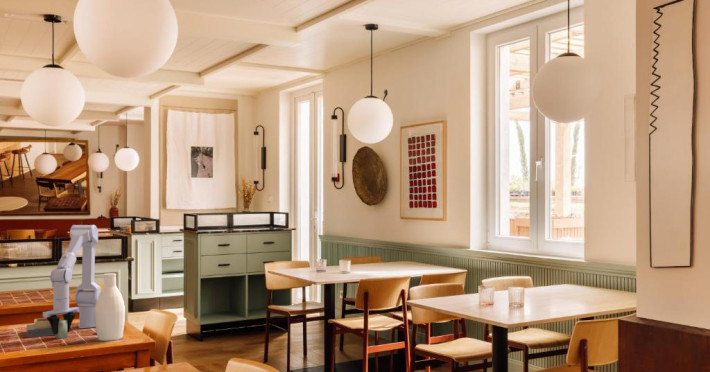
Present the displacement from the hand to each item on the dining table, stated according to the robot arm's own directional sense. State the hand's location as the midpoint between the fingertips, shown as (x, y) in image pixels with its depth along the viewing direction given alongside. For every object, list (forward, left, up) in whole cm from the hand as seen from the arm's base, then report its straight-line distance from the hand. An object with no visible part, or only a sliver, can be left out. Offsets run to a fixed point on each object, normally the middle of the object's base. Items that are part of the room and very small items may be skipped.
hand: (61, 333), depth 269 cm
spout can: (0, 0, -2) cm, 2 cm away
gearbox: (+5, -13, -2) cm, 14 cm away
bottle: (-17, +11, -2) cm, 20 cm away
